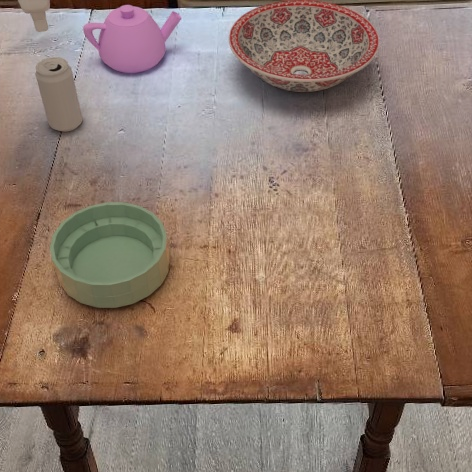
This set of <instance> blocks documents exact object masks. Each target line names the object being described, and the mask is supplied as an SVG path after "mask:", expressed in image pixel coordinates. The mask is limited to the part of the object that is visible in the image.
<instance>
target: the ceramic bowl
mask: <svg viewBox="0 0 472 472" xmlns="http://www.w3.org/2000/svg"><path fill="white" fill-rule="evenodd" d="M228 45H229V48H230V50H231V52H232V54H233V56H234V57H235V58H236V59H237V60H238V61H239V62H240V63H241V64H242V65H244V66H246V67H247V68H248V69H249V70H250V71H251V72H252V74H254V75H255V76H256V77H258V78H259V79H260V80H261V81H263V82H265V83H267V84H268V85H270V86H273V87H275V88H278V89H281V90H284V91H288V92H294V93H295V92H297V93H311V92H319V91H325V90H327V89H330V88H333V87H335V86H338V85H339V84H342V83H343V82H345V81H347V80H348V79H349V78H350V77H352V76H353V75H355V74H356V73H357V72H359V71H361V70H363V69H365V68H366V67H367V66H368V65H369V64H371V62H373V60H374V59H375V58H376V56H377V54H378V52H379V49H380V37H379V34H378V32H377V30H376V28H375V27H374V25H373V24H372V23H371V22H370V21H369V20H368V19H367V18H365V17H364V16H363V15H361V14H360V13H357V12H356V11H354V10H352V9H350V8H347V7H345V6H342V5H339V4H335V3H331V2H327V1H319V0H280V1H275V2H274V1H273V2H270V3H266V4H264V5H260V6H257V7H255V8H252V9H250V10H248V11H247V12H245V13H244V14H243V15H241V16H240V17H239V18H237V19H236V21H235V22H234V23H233V25H232V26H231V28H230V30H229V34H228ZM298 71H304V72H307V74H299V73H297V74H296V73H295V72H298Z"/></svg>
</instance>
